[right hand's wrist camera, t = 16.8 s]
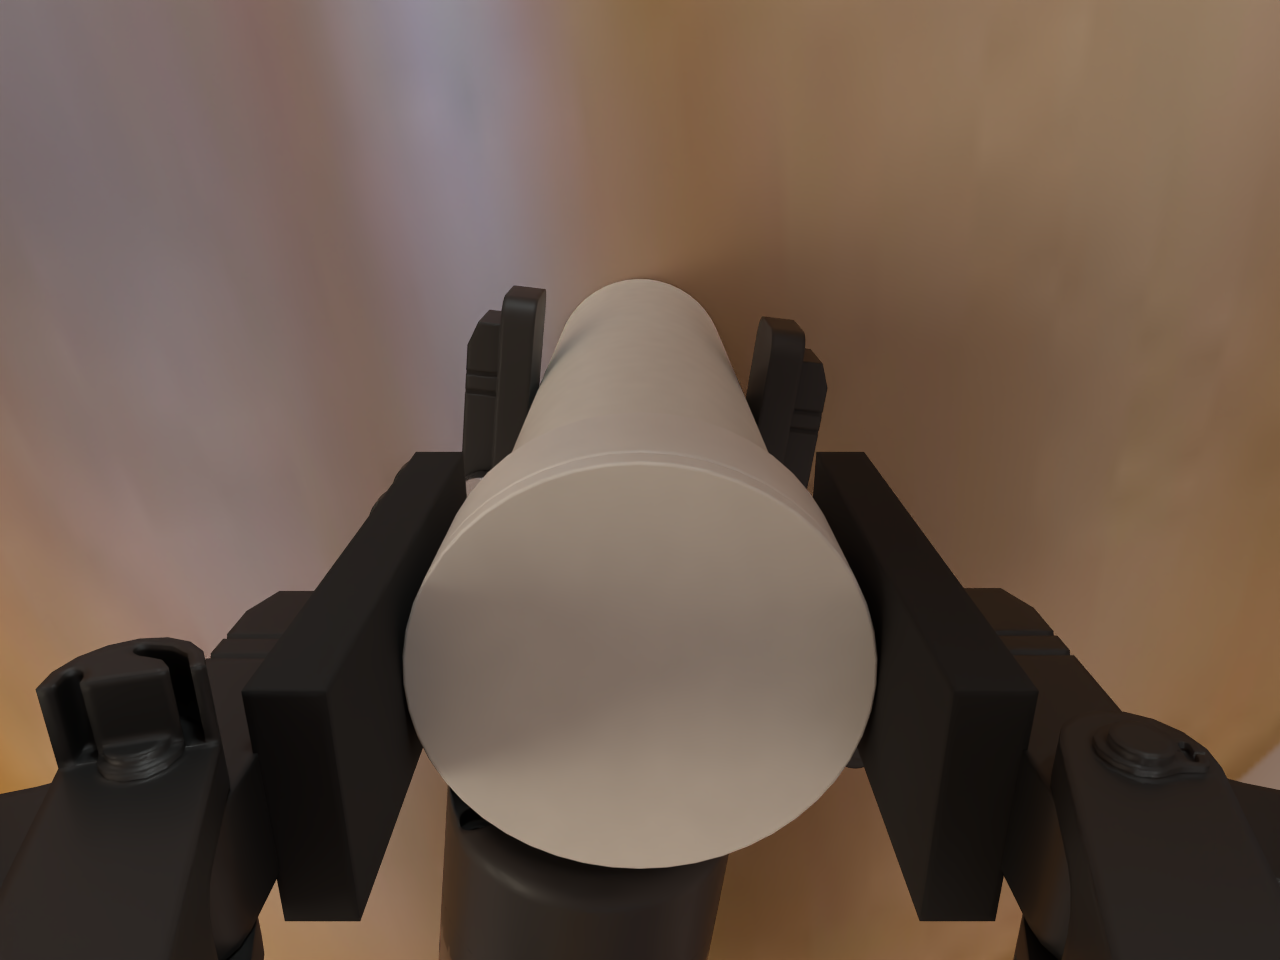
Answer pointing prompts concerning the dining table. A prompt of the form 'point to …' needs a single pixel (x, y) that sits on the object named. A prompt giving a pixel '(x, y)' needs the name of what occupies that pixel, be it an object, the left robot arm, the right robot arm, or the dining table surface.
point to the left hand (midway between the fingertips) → (653, 311)
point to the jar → (639, 363)
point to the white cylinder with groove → (639, 645)
